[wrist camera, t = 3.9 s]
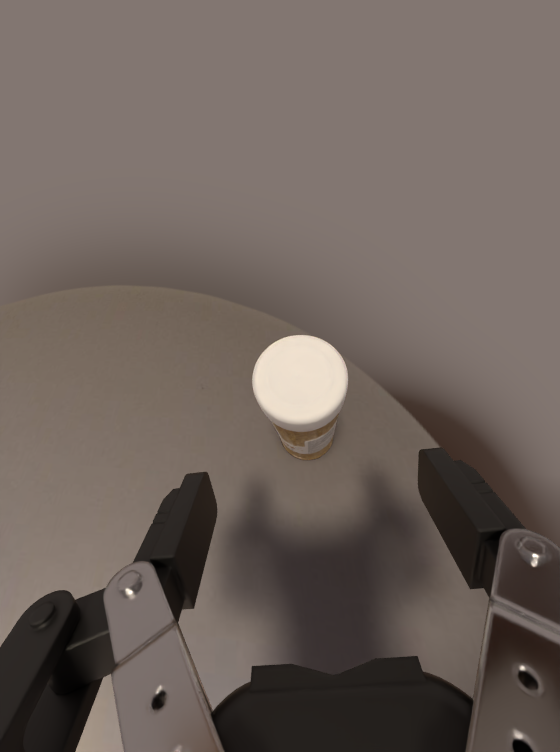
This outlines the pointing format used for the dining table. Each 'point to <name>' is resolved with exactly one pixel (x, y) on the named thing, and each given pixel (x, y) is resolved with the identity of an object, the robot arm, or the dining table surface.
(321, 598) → the dining table surface
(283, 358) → the sprinkles bottle
